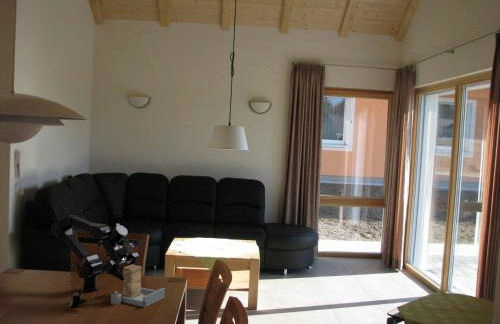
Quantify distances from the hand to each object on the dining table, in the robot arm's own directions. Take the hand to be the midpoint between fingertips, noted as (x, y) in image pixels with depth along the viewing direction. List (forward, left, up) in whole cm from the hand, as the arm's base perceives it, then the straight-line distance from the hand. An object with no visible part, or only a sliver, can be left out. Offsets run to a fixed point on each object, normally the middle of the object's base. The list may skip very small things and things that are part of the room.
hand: (130, 277), depth 198 cm
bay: (+6, 0, -9) cm, 11 cm away
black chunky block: (-7, -21, -10) cm, 24 cm away
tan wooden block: (+1, 0, -8) cm, 8 cm away
